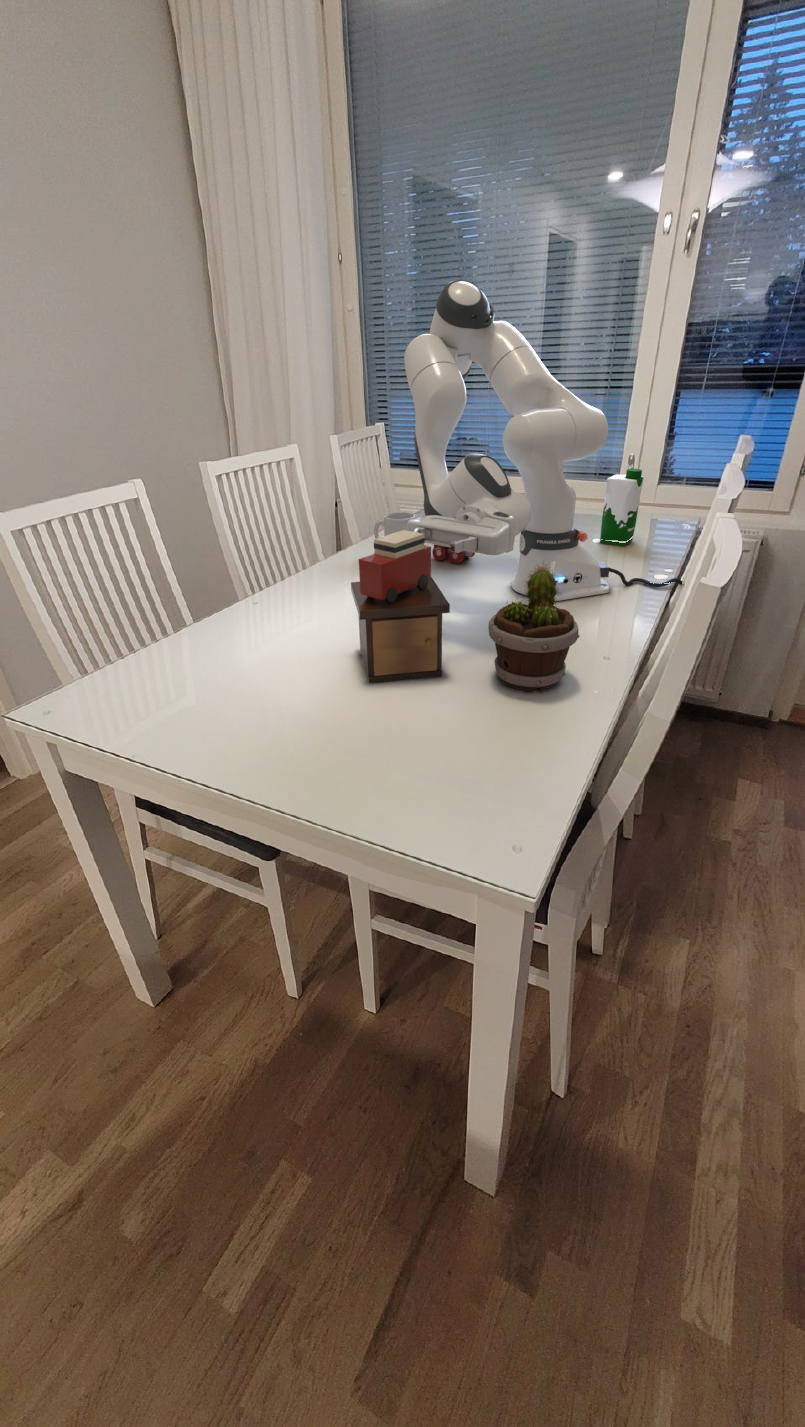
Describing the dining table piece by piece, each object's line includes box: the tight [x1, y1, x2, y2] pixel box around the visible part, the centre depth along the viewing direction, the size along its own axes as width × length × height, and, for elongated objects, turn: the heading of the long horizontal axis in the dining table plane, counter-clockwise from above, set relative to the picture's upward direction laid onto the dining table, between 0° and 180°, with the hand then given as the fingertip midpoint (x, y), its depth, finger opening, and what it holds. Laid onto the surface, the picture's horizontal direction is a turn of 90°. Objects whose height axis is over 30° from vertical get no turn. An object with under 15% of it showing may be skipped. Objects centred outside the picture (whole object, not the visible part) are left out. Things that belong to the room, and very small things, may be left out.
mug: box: [373, 511, 416, 539], centre depth 176 cm, size 12×8×11 cm
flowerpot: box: [488, 561, 580, 692], centre depth 107 cm, size 14×15×20 cm
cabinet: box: [350, 576, 451, 684], centre depth 114 cm, size 15×16×14 cm
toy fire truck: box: [431, 544, 476, 564], centre depth 172 cm, size 7×12×10 cm, turn 58°
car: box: [358, 530, 432, 603], centre depth 109 cm, size 13×5×10 cm, turn 140°
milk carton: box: [599, 468, 645, 547], centre depth 181 cm, size 9×9×20 cm
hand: (431, 543), depth 114 cm, fingers open, 8 cm apart
